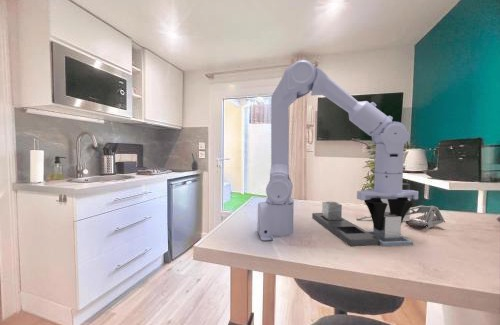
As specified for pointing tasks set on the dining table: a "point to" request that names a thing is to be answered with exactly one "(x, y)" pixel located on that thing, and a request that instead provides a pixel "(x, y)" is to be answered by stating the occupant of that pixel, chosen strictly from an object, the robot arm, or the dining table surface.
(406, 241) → the tray
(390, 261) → the dining table surface
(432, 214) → the bracket
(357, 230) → the slotted metal plate
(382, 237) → the light grey rectangular block
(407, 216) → the jar
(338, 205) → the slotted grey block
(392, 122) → the robot arm
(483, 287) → the dining table surface
